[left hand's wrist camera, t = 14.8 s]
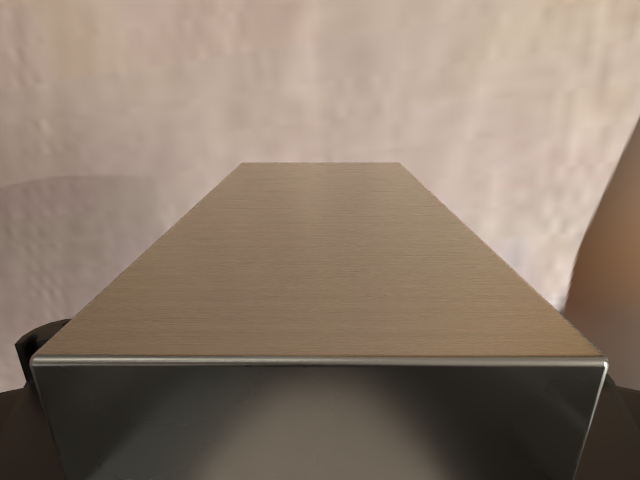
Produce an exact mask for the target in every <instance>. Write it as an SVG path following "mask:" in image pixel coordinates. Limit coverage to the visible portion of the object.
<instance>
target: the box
mask: <svg viewBox="0 0 640 480" xmlns="http://www.w3.org/2000/svg"><path fill="white" fill-rule="evenodd" d="M29 366H30V369H31V372H32V376H33V379H34V382H35V385H36V389H37V392H38V395H39V398H40V402H41V405H42V408H43V411H44V415H45V418H46V421H47V424H48V428H49V431H50V434H51V437H52V441H53V444H54V447H55V450H56V454H57V457H58V460H59V463H60V467H61V470H62V473H63V476H64V480H574V478H575V475H576V472H577V469H578V465H579V462H580V459H581V455H582V452H583V449H584V446H585V442H586V439H587V436H588V432H589V429H590V426H591V423H592V419H593V416H594V413H595V409H596V406H597V403H598V400H599V396H600V393H601V390H602V386H603V383H604V380H605V377H606V373H607V370H608V367H609V364H608V359H607V357H606V356H605V355H604V354H603V353H602V352H601V351H600V350H599V349H598V348H597V347H596V346H595V345H593V344H592V343H591V342H590V341H589V340H588V339H587V338H586V337H585V336H584V335H583V334H582V333H581V332H579V331H578V330H577V329H576V328H575V327H574V326H573V325H572V324H571V323H570V322H569V321H568V320H567V319H566V318H565V317H564V316H562V315H561V314H560V313H559V312H558V311H557V310H556V309H555V308H554V307H553V306H552V305H551V304H550V303H549V302H548V301H546V300H545V299H544V298H543V297H542V296H541V295H540V294H539V293H538V292H537V291H536V290H535V289H534V288H533V287H531V286H530V285H529V284H528V283H527V282H526V281H525V280H524V279H523V278H522V277H521V276H520V275H519V274H518V273H517V272H515V271H514V270H513V269H512V268H511V267H510V266H509V265H508V264H507V263H506V262H505V261H504V260H503V259H502V258H500V257H499V256H498V255H497V254H496V253H495V252H494V251H493V250H492V249H491V248H490V247H489V246H488V245H487V244H486V243H484V242H483V241H482V240H481V239H480V238H479V237H478V236H477V235H476V234H475V233H474V232H473V231H472V230H471V229H469V228H468V227H467V226H466V225H465V224H464V223H463V222H462V221H461V220H460V219H459V218H458V217H457V216H456V215H455V214H453V213H452V212H451V211H450V210H449V209H448V208H447V207H446V206H445V205H444V204H443V203H442V202H441V201H440V200H439V199H437V198H436V197H435V196H434V195H433V194H432V193H431V192H430V191H429V190H428V189H427V188H426V187H425V186H424V185H422V184H421V183H420V182H419V181H418V180H417V179H416V178H415V177H414V176H413V175H412V174H411V173H410V172H409V171H408V170H406V169H405V168H404V167H403V166H402V165H401V164H400V163H241V164H240V165H239V166H238V167H237V168H236V169H235V170H233V171H232V172H231V173H230V174H229V175H228V176H227V177H226V178H225V179H224V180H223V181H221V182H220V183H219V184H218V185H217V186H216V187H215V188H214V189H213V190H212V191H211V192H210V193H208V194H207V195H206V196H205V197H204V198H203V199H202V200H201V201H200V202H199V203H198V204H196V205H195V206H194V207H193V208H192V209H191V210H190V211H189V212H188V213H187V214H186V215H184V216H183V217H182V218H181V219H180V220H179V221H178V222H177V223H176V224H175V225H174V226H173V227H171V228H170V229H169V230H168V231H167V232H166V233H165V234H164V235H163V236H162V237H161V238H159V239H158V240H157V241H156V242H155V243H154V244H153V245H152V246H151V247H150V248H149V249H147V250H146V251H145V252H144V253H143V254H142V255H141V256H140V257H139V258H138V259H137V260H136V261H134V262H133V263H132V264H131V265H130V266H129V267H128V268H127V269H126V270H125V271H124V272H122V273H121V274H120V275H119V276H118V277H117V278H116V279H115V280H114V281H113V282H112V283H111V284H109V285H108V286H107V287H106V288H105V289H104V290H103V291H102V292H101V293H100V294H99V295H97V296H96V297H95V298H94V299H93V300H92V301H91V302H90V303H89V304H88V305H87V306H85V307H84V308H83V309H82V310H81V311H80V312H79V313H78V314H77V315H76V316H75V317H74V318H72V319H71V320H70V321H69V322H68V323H67V324H66V325H65V326H64V327H63V328H62V329H60V330H59V331H58V332H57V333H56V334H55V335H54V336H53V337H52V338H51V339H50V340H48V341H47V342H46V343H45V344H44V345H43V346H42V347H41V348H40V349H39V350H38V351H37V352H35V353H34V354H33V355H32V357H31V359H30V363H29Z"/></svg>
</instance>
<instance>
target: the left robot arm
mask: <svg viewBox="0 0 640 480" xmlns="http://www.w3.org/2000/svg"><path fill="white" fill-rule="evenodd" d="M70 320H71V319H64V320H60V321H56V322H51V323H48V324H46V325H43V326H41V327H38V328H35V329H34V330H32V331H30V332H29V333H27V334H25V335H24V336H22V337H21V338H20V339H19V340H18V341H17V342H16V343H15V347H16V350H17V353H18V356H19V360H20V363H21V366H22V369H23V372H24V375H25V378H26V384H25V386H24V388H21V389H16V390H11V391H6V392H2V393H0V480H64V476H63V473H62V470H61V467H60V463H59V460H58V457H57V454H56V450H55V447H54V444H53V441H52V437H51V434H50V431H49V428H48V424H47V421H46V418H45V415H44V411H43V408H42V405H41V402H40V398H39V395H38V392H37V389H36V385H35V382H34V379H33V376H32V372H31V369H30V366H29V363H30V359H31V357H32V355H33V354H34V353H35V352H37V351H38V350H39V349H40V348H41V347H42V346H43V345H44V344H45V343H46V342H47V341H48V340H50V339H51V338H52V337H53V336H54V335H55V334H56V333H57V332H58V331H59V330H60V329H62V328H63V327H64V326H65V325H66V324H67V323H68V322H69V321H70ZM574 480H640V391H638V390H633V389H628V388H623V387H619V386H616V385H615V383H614V381H613V380H612V379H611V378H610V376H609V375H608V374H607V373H606V377H605V380H604V383H603V386H602V390H601V393H600V396H599V400H598V403H597V406H596V409H595V413H594V416H593V419H592V423H591V426H590V429H589V432H588V436H587V439H586V442H585V446H584V449H583V452H582V455H581V459H580V462H579V465H578V469H577V472H576V475H575V478H574Z"/></svg>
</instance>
